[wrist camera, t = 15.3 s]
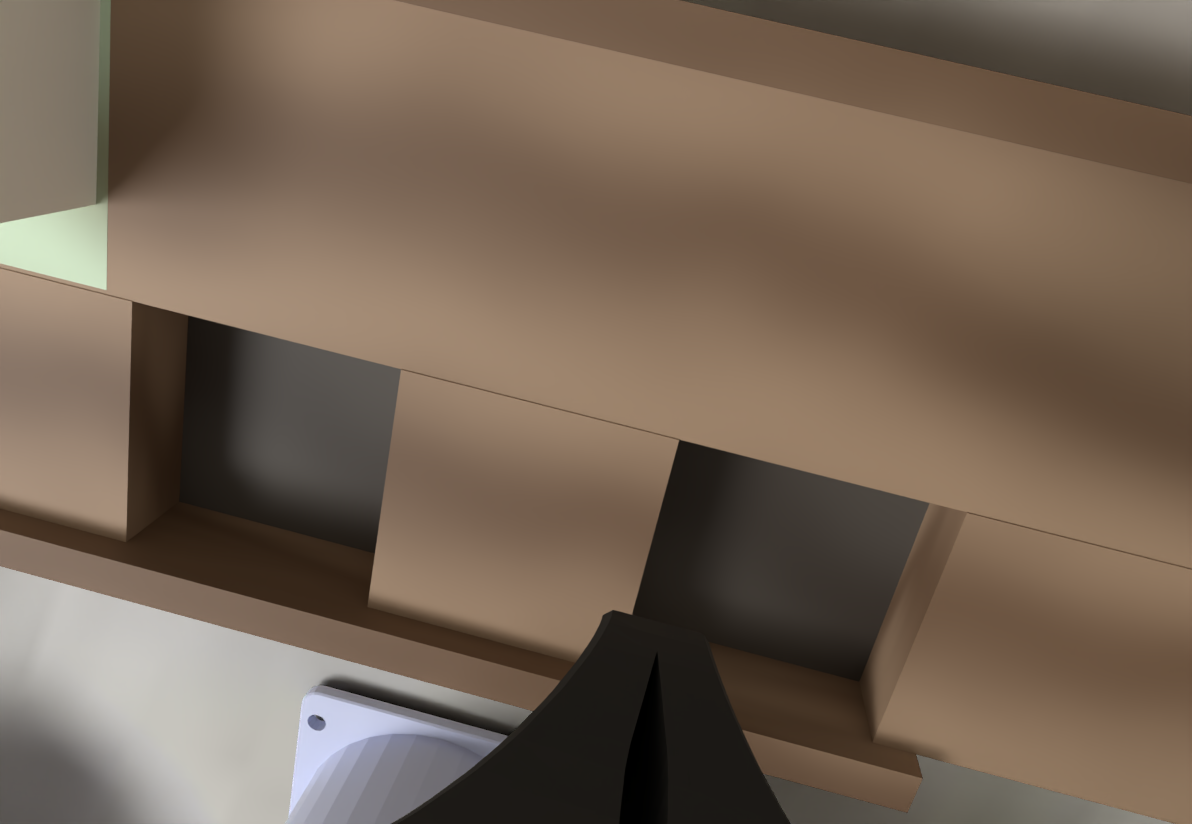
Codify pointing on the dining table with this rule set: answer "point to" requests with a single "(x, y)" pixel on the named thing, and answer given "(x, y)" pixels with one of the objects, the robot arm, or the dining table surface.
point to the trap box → (632, 372)
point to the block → (48, 106)
